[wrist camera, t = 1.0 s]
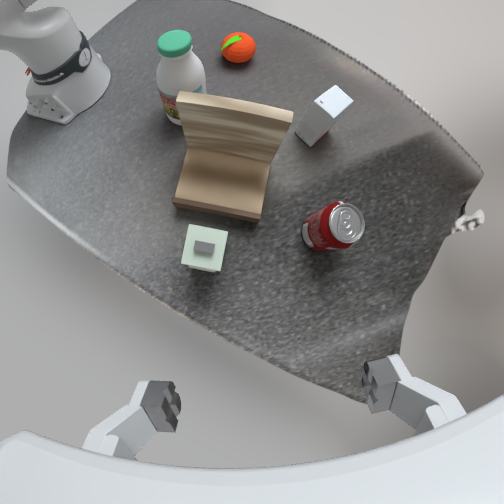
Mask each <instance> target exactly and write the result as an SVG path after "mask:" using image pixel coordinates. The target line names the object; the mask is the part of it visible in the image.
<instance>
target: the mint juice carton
mask: <svg viewBox="0 0 504 504" xmlns="http://www.w3.org/2000/svg"><path fill="white" fill-rule="evenodd" d="M227 235H228V232H227V231H222V230H217V229H212V228H207V227H202V226H197V225H192V224H189V227H188V232H187V236H186V241H185V246H184V251H183V256H182V261H181V263H182V264H187V265H189V266H188V267H189V268H194V269H199V270H204V271H209V272H214V273H215V271H216V270H217V271H220V270H221V265H222V260H223V255H224V250H225V245H226V240H227Z"/></svg>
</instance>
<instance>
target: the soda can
mask: <svg viewBox="0 0 504 504" xmlns="http://www.w3.org/2000/svg"><path fill="white" fill-rule="evenodd" d="M364 228H365V222H364V218H363V215H362V213H361V212H360V210H359V209H358V208H357V207H355V206H354V205H351V204H348V203H346V202H334V203H332V204H330V205H328V206H326V207H324V208H322V209H321V210H319V211H317V212H315V213H313V214H311V215H310V216H308V217H307V218H306V220H305V221H304V223H303V226H302V236H303V239H304V241H305V243H306V244H307V245H308V246H309V247H310V248H311V249H313V250H316V251H328V250H337V249H345V248H349V247H351V246H353V245H355V244H356V243H357V242H358V240H359V239H360V237H361V236H362V234H363V232H364Z"/></svg>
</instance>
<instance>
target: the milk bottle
mask: <svg viewBox="0 0 504 504" xmlns="http://www.w3.org/2000/svg"><path fill="white" fill-rule="evenodd" d="M157 48H158V51H159V55H160V56H161V60H160V63H159V65H158V68H157V72H156V81H157V86H158V90H159V93H160V96H161V99H162V102H163V105H164V108H165V111H166V114H167V116H168V118H169V120H170V121H172V122H173V123H175V124H177V125H181V126H182V124H181V120H180V116H179V112H178V108H177V104H176V99H177V96H178V94H179V91H185V92H193V93H201V94H206V82H205V72H204V68H203V65H202V63H201V61H200V60H199V58H198V57H197V56H196V55H195V54H194V53H193V52H192V51H191V50H192V39H191V36H190V34H189V33H188V32H186V31H183V30H173V31H169V32H167V33H165V34H163V35H162V36H161V37H160V38H159V39H158V42H157Z"/></svg>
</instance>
